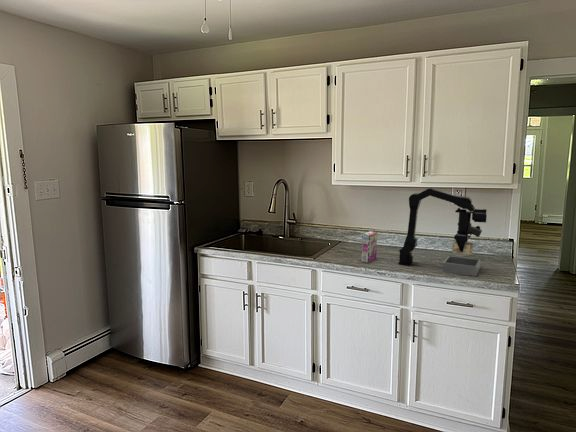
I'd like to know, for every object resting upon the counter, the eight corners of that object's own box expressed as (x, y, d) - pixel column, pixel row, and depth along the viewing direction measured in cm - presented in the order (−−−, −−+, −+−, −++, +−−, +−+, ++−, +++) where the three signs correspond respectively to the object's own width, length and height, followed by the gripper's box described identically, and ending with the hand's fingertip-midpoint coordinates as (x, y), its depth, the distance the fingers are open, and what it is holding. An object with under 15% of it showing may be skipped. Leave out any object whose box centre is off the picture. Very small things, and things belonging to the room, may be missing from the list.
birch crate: (452, 252, 214) (452, 243, 213) (454, 250, 219) (455, 240, 218) (470, 254, 209) (471, 245, 208) (472, 252, 214) (473, 242, 214)
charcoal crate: (442, 271, 213) (443, 262, 212) (448, 264, 226) (448, 255, 226) (476, 276, 205) (476, 266, 204) (479, 268, 218) (480, 259, 218)
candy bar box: (368, 263, 230) (369, 235, 227) (360, 262, 233) (361, 234, 230) (376, 259, 239) (377, 231, 236) (368, 257, 242) (369, 230, 239)
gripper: (479, 225, 199) (477, 256, 202) (483, 219, 215) (481, 248, 218) (455, 223, 205) (453, 253, 208) (460, 218, 221) (459, 246, 223)
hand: (462, 250), depth 214 cm, fingers closed on birch crate, 6 cm apart
